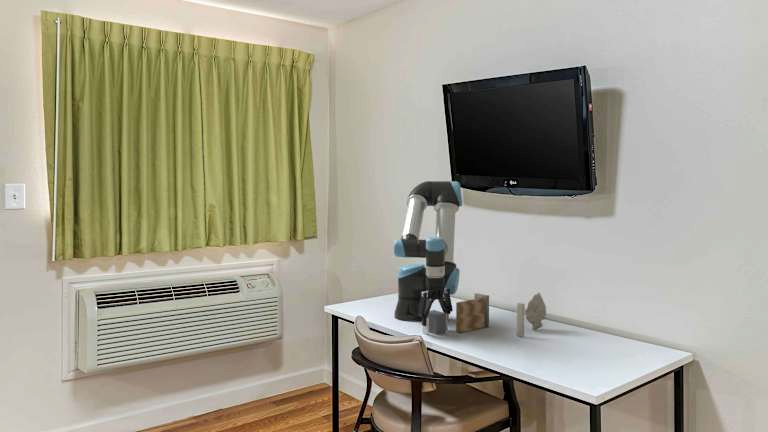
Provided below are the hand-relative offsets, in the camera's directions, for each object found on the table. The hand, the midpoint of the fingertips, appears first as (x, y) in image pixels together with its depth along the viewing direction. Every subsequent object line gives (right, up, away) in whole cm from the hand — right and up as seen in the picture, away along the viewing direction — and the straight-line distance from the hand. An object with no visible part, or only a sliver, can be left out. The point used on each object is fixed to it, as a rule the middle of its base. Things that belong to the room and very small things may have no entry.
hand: (435, 331), depth 238 cm
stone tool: (+41, 0, +2) cm, 41 cm away
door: (+14, 0, +3) cm, 14 cm away
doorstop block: (0, 0, 0) cm, 0 cm away
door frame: (+26, 0, +2) cm, 26 cm away
